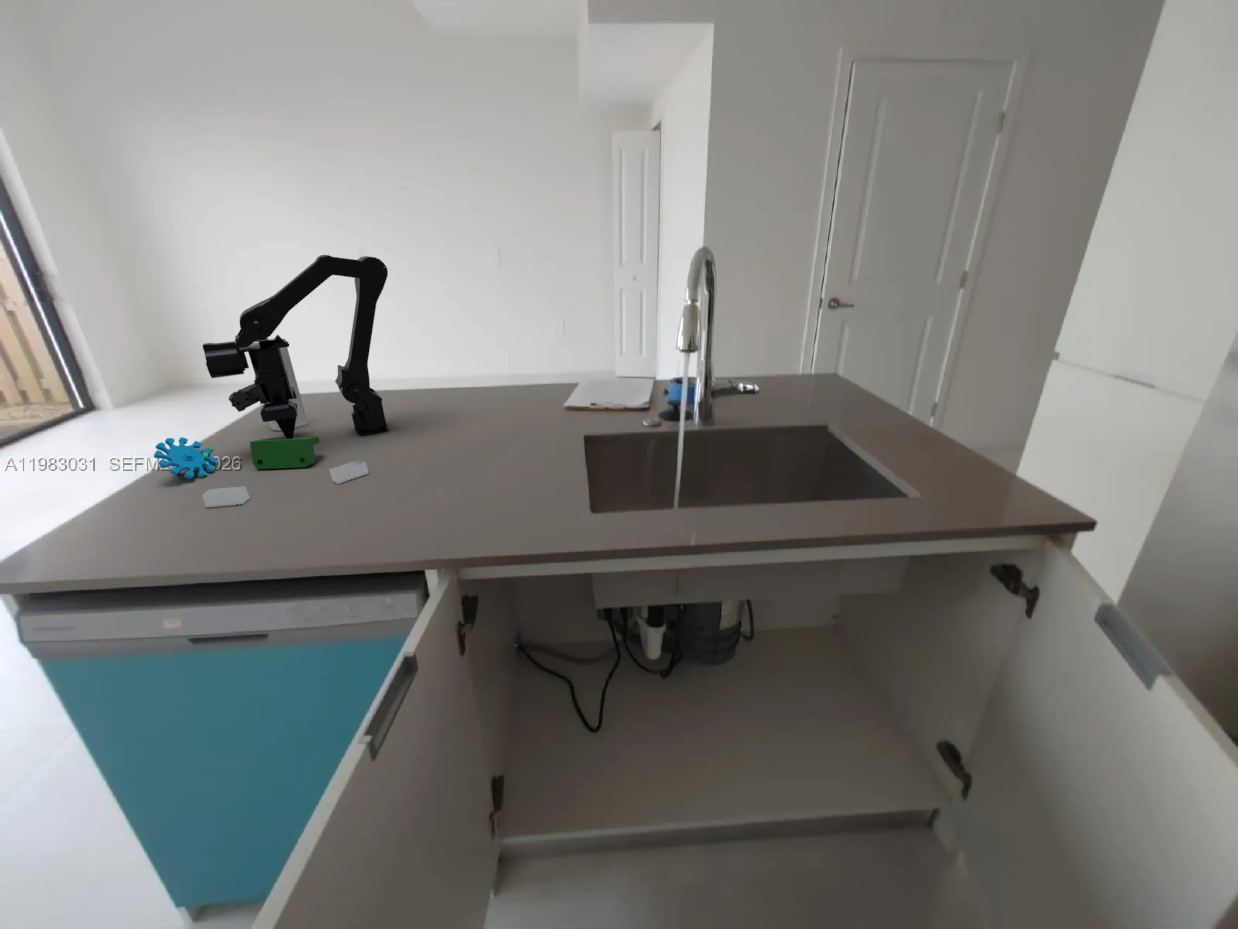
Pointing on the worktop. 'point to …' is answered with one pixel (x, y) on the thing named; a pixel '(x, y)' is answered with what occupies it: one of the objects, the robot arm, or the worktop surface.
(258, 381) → the robot arm
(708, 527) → the worktop surface
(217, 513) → the worktop surface
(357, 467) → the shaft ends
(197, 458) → the gear
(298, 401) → the paper towel roll
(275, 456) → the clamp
